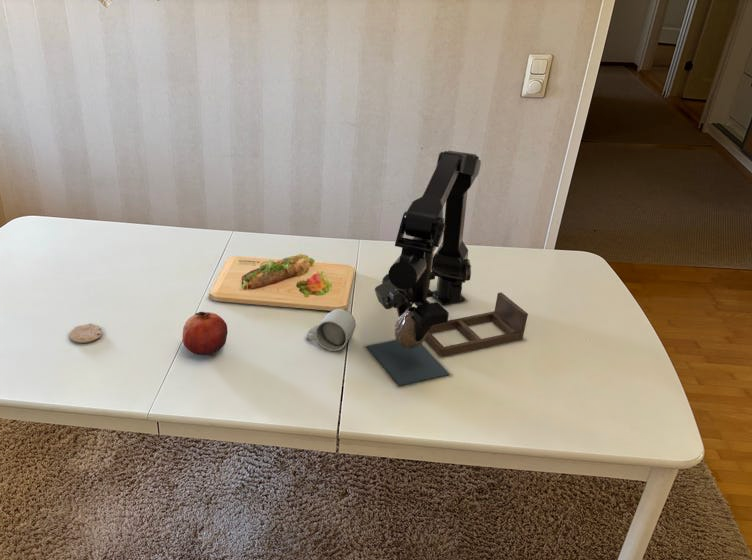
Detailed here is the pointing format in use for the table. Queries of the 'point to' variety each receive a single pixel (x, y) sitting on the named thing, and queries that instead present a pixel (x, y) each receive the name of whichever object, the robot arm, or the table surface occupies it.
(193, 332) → the fruit
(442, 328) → the cup stand
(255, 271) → the cutting board
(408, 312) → the vase
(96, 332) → the flatbread
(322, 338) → the ceramic mug
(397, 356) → the mat
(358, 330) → the table surface
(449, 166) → the robot arm
